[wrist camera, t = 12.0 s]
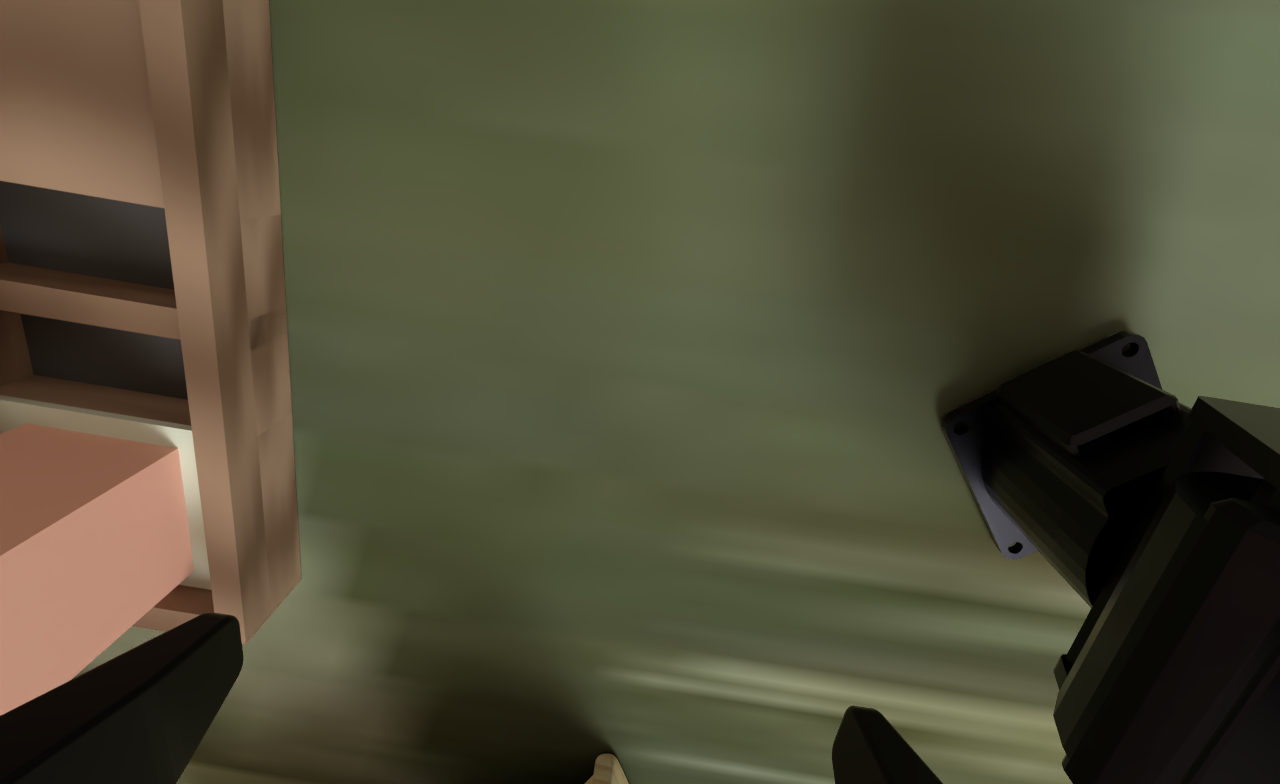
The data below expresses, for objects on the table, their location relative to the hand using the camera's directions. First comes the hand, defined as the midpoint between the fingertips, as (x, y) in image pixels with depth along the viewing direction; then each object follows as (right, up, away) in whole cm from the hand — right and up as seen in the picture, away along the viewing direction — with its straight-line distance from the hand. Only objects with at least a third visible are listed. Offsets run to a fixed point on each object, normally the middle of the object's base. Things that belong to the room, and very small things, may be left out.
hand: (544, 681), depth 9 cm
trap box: (-16, +8, +12) cm, 21 cm away
